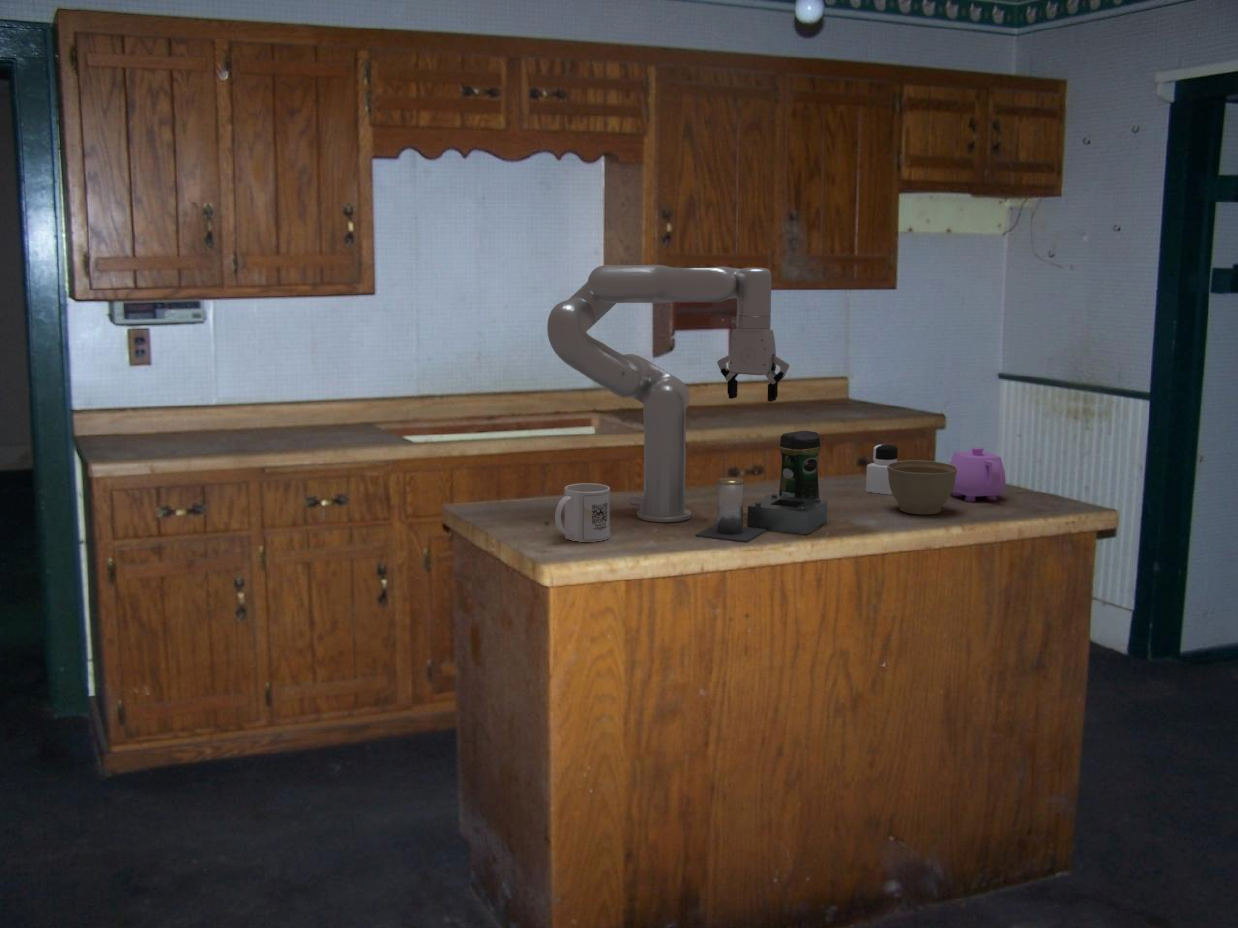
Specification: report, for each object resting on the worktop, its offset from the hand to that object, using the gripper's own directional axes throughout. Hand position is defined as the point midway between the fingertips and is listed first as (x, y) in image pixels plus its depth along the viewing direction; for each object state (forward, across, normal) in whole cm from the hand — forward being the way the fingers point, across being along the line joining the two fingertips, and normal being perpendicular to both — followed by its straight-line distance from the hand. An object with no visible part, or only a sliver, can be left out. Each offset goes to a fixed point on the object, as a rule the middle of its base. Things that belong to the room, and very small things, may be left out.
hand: (752, 399), depth 290 cm
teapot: (+29, +36, +54) cm, 71 cm away
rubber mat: (+28, +2, -14) cm, 31 cm away
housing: (+28, +9, 0) cm, 29 cm away
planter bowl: (+28, +30, +31) cm, 52 cm away
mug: (+28, -23, -35) cm, 51 cm away
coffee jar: (+28, +4, +19) cm, 34 cm away
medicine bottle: (+28, +15, +49) cm, 58 cm away
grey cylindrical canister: (+28, +2, -14) cm, 31 cm away
